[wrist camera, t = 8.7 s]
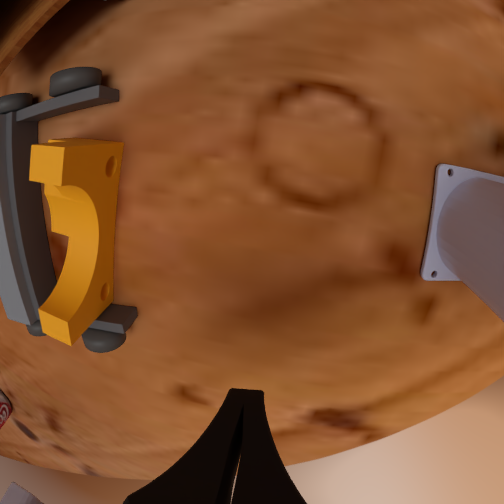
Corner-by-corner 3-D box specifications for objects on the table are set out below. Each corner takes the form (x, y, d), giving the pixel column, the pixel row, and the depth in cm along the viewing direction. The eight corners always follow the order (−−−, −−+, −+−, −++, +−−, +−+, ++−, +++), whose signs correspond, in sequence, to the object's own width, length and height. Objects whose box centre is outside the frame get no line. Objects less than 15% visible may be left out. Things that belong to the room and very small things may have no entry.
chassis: (120, 70, 16) (86, 59, 12) (140, 330, 22) (120, 361, 19) (3, 109, 17) (-30, 111, 13) (31, 309, 23) (7, 329, 20)
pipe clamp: (76, 137, 18) (13, 143, 12) (125, 142, 18) (64, 147, 12) (72, 284, 22) (25, 323, 16) (114, 299, 22) (71, 346, 16)
